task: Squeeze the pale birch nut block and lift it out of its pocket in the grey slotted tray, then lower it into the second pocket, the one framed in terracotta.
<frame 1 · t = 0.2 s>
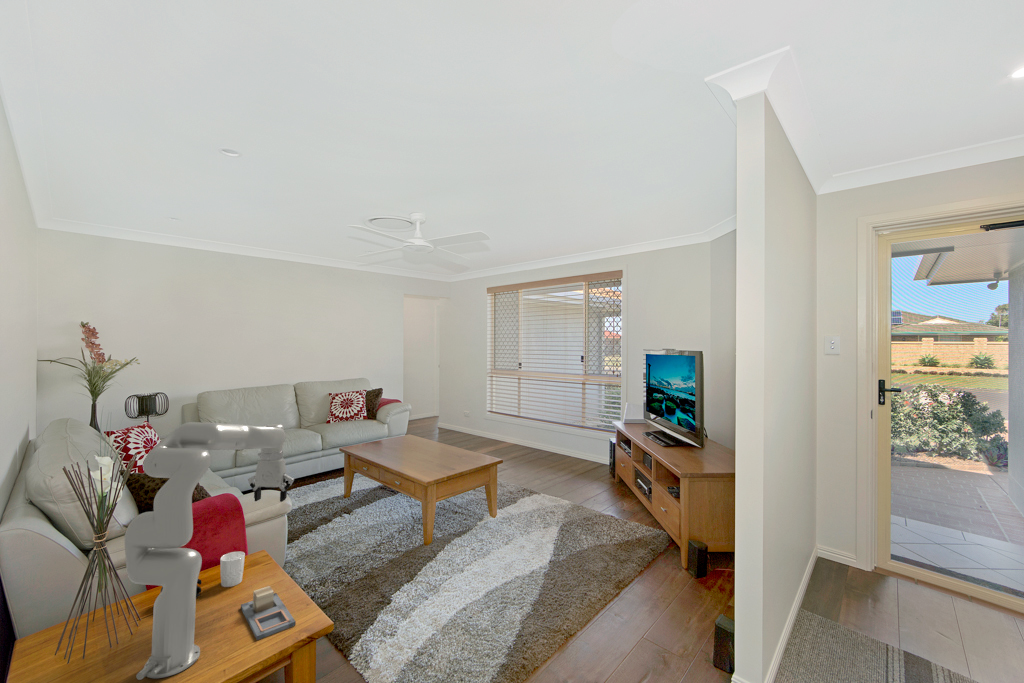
hand: (270, 500, 167), 31 cm above the table, fingers open, 9 cm apart
grey slotted tray: (267, 617, 144), on the table
birch nut block: (262, 609, 148), resting on grey slotted tray
end cap: (181, 600, 153), on the table
white cup: (231, 583, 165), on the table
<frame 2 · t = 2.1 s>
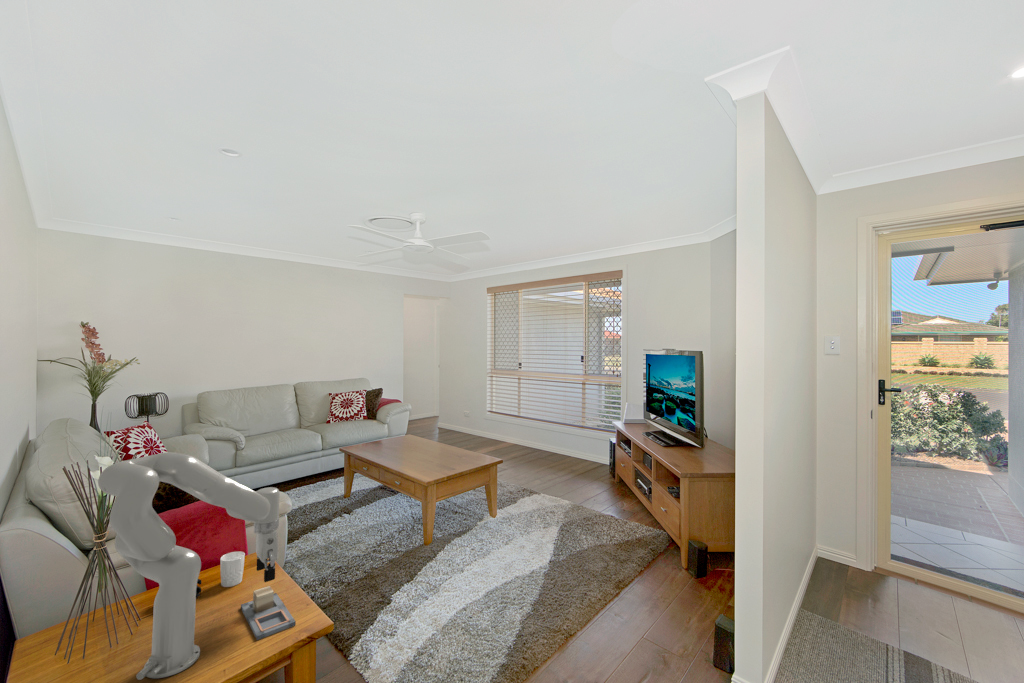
hand: (265, 574, 149), 12 cm above the table, fingers open, 9 cm apart
nothing on the table moved.
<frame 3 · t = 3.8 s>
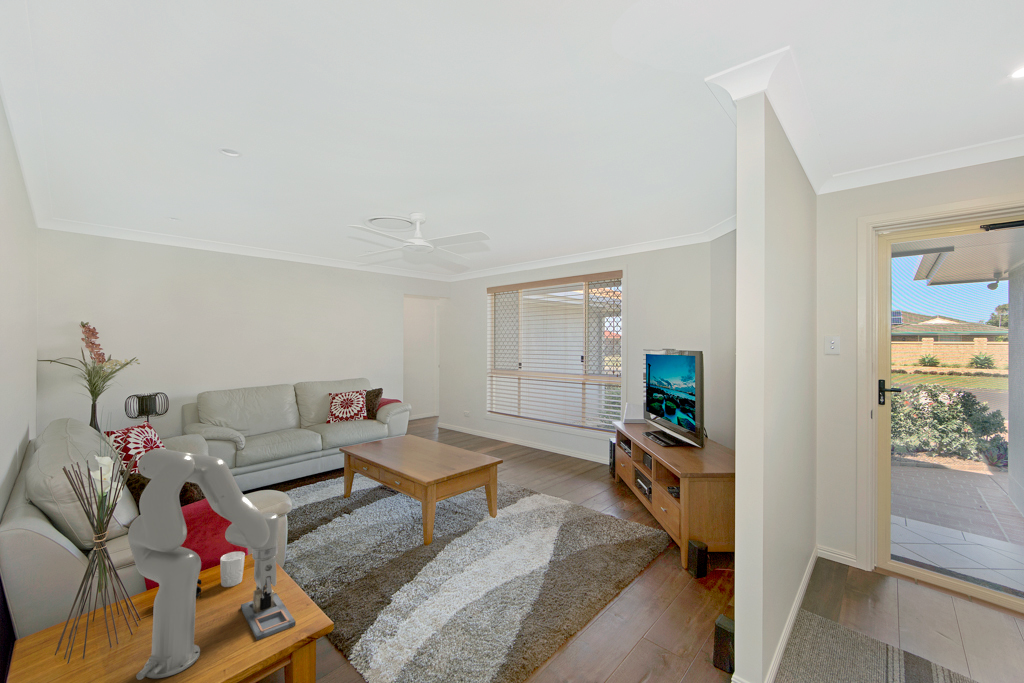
hand: (263, 604, 148), 2 cm above the table, fingers closed on birch nut block, 5 cm apart
birch nut block: (262, 609, 148), resting on grey slotted tray, touching gripper
everything else where it was.
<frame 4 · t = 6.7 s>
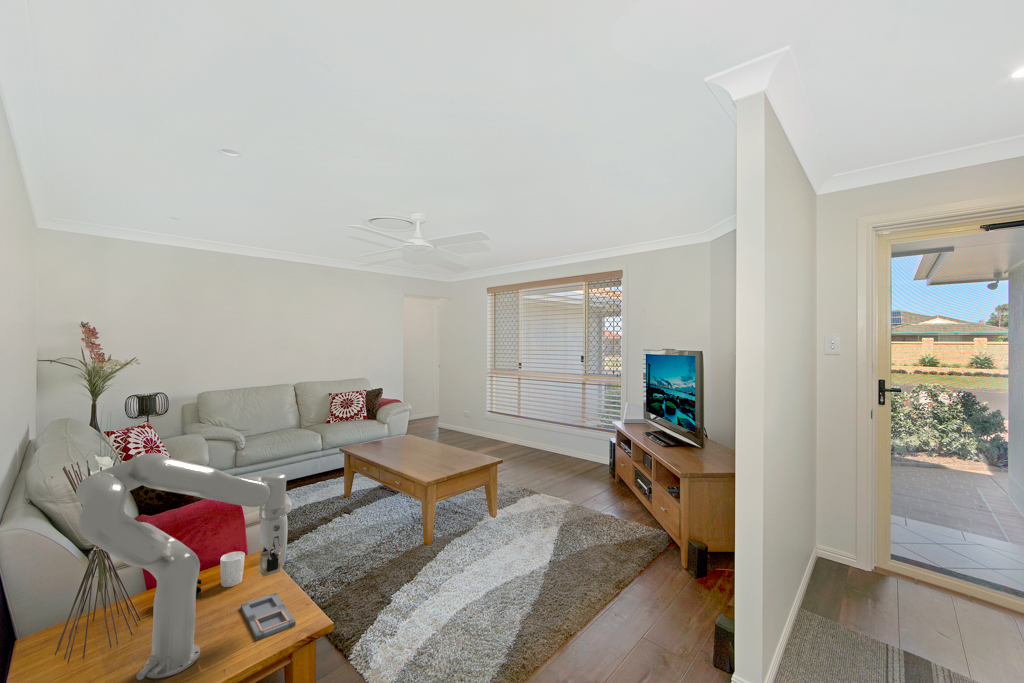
hand: (269, 566, 143), 17 cm above the table, fingers closed on birch nut block, 5 cm apart
birch nut block: (269, 571, 143), point 16 cm above the table, touching gripper
everything else where it was.
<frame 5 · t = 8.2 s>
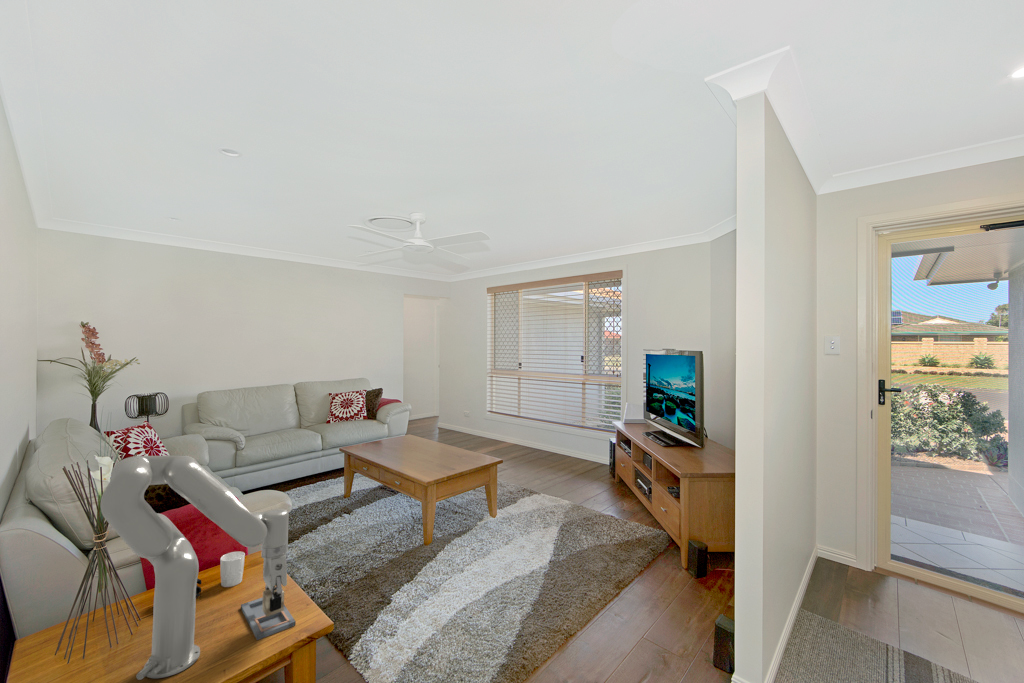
hand: (272, 605, 140), 6 cm above the table, fingers closed on birch nut block, 5 cm apart
birch nut block: (273, 610, 140), point 5 cm above the table, touching gripper
everything else where it was.
when the fingers open (3 cm above the table, at t = 9.7 s): birch nut block stays where it is, resting on grey slotted tray.
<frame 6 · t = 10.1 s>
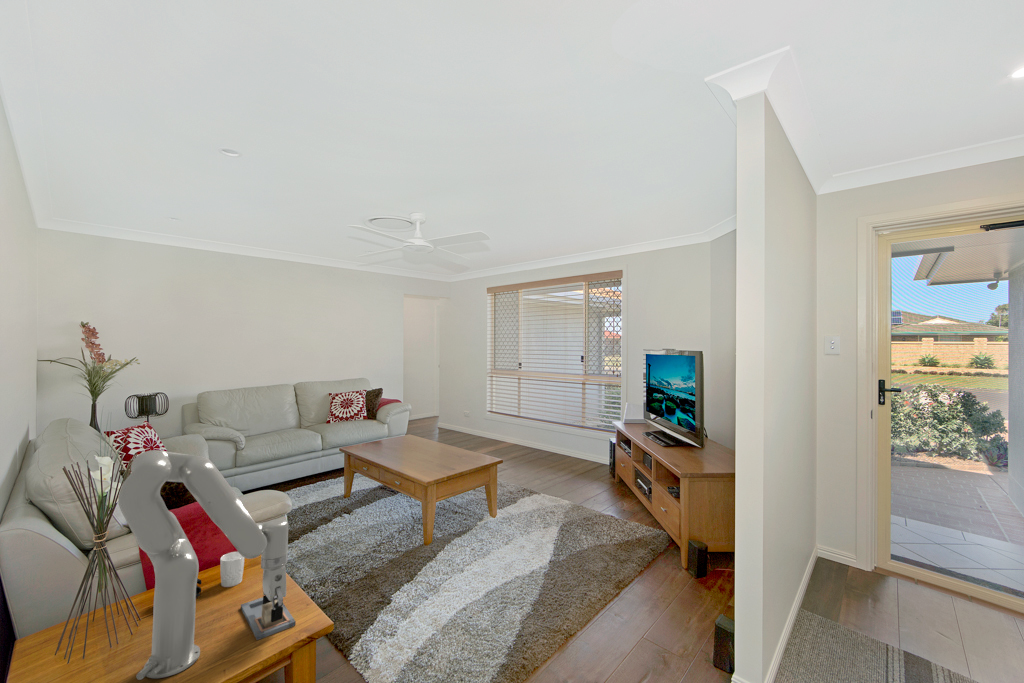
hand: (272, 613, 140), 4 cm above the table, fingers open, 9 cm apart
birch nut block: (271, 624, 140), resting on grey slotted tray
everything else where it was.
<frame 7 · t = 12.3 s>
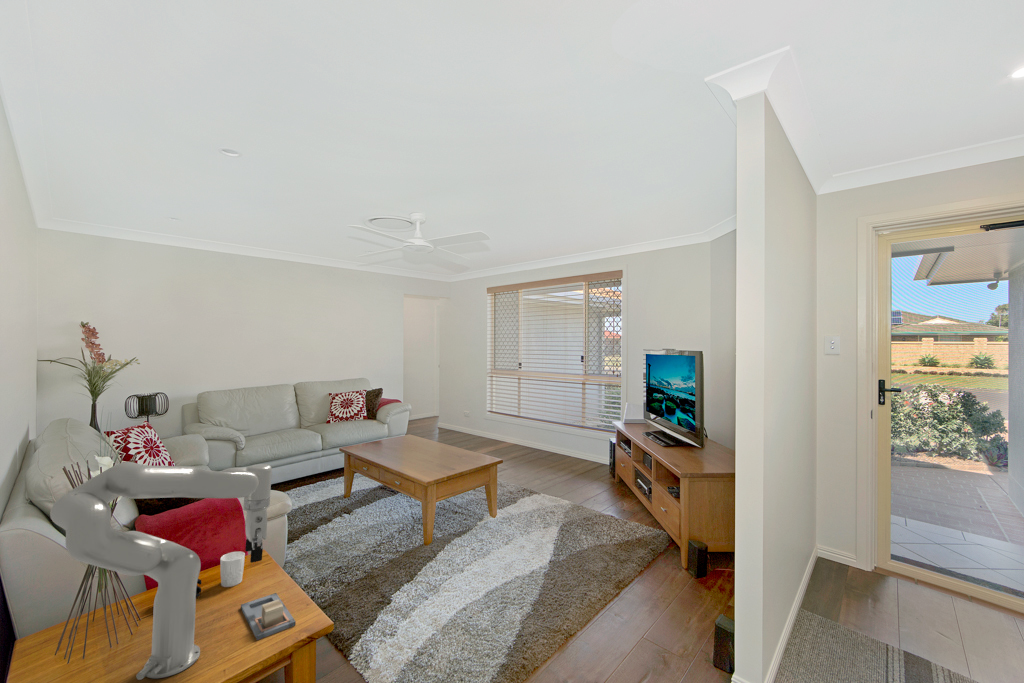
hand: (253, 555, 142), 21 cm above the table, fingers open, 9 cm apart
nothing on the table moved.
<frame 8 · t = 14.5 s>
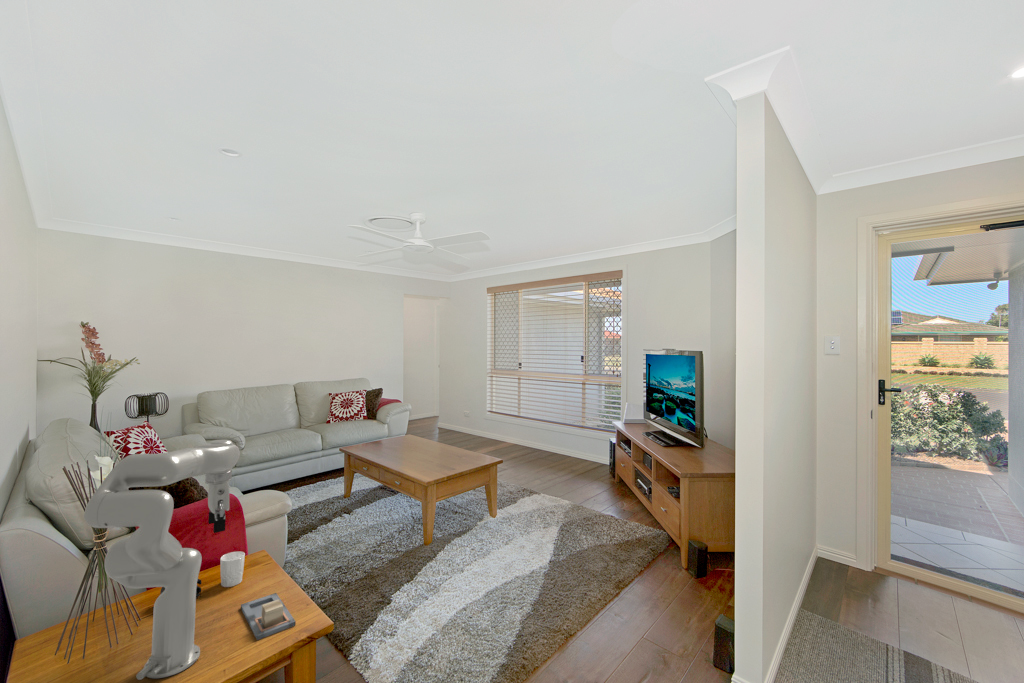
hand: (216, 527, 147), 28 cm above the table, fingers open, 9 cm apart
nothing on the table moved.
at the end: birch nut block 0.0 cm from the target spot on the grey slotted tray, point 0.3 cm above the grey slotted tray's base; birch nut block tilted 0°; the gripper is holding nothing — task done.
